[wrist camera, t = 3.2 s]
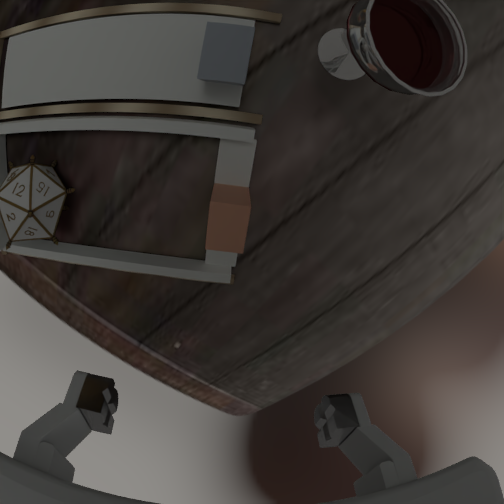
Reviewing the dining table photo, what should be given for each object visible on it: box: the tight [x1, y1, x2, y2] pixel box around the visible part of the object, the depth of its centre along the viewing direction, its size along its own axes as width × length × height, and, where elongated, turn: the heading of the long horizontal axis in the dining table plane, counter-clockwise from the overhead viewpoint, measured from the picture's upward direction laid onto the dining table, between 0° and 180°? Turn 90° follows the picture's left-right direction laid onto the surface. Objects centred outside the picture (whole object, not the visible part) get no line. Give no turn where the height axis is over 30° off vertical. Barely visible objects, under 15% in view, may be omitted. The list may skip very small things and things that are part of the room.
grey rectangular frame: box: [0, 116, 257, 284], centre depth 23 cm, size 27×14×5 cm, turn 81°
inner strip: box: [2, 14, 255, 108], centre depth 17 cm, size 24×8×6 cm, turn 81°
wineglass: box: [318, 0, 467, 97], centre depth 15 cm, size 7×7×12 cm
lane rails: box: [0, 3, 282, 285], centre depth 23 cm, size 29×26×1 cm
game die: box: [0, 155, 76, 250], centre depth 21 cm, size 9×8×10 cm
